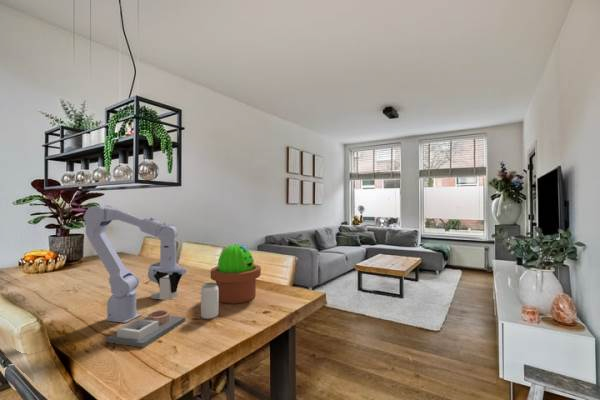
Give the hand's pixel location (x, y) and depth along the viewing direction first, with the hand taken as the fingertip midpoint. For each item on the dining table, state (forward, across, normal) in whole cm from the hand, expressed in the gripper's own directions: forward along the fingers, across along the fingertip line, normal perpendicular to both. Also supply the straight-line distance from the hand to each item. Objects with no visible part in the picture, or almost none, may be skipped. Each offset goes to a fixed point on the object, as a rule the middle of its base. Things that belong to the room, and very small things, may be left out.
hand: (168, 291), depth 113 cm
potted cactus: (+10, +16, +26) cm, 32 cm away
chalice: (+10, -18, +20) cm, 29 cm away
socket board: (+9, +3, -13) cm, 16 cm away
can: (+10, +16, +4) cm, 19 cm away
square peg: (+2, 0, 0) cm, 2 cm away
